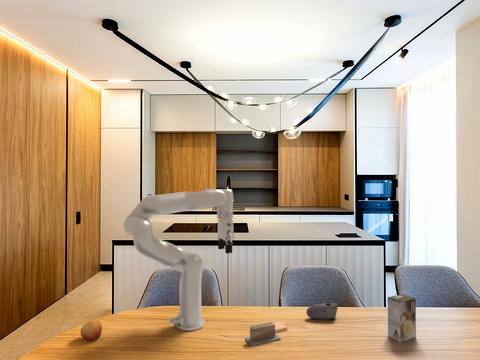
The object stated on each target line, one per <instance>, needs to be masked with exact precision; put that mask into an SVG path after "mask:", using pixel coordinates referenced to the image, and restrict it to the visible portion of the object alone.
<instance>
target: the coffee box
mask: <svg viewBox="0 0 480 360" xmlns="http://www.w3.org/2000/svg"><path fill="white" fill-rule="evenodd" d="M416 300H417V299H416V298H415V297H412V296H410V295H407V294H403V293H402V294H401V293H400V294H397V295H396V294H395V295H392V296H388V297H387V336H388V337H390V338H391V339H393V340H396V341H397V342H400V343H402V342H406V341H409V340H412V339H415V338H417V321H416V320H417V316H416V314H417V313H416V311H417V310H416V309H417V306H416V304H417V302H416Z"/></svg>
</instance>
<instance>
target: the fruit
mask: <svg viewBox="0 0 480 360" xmlns="http://www.w3.org/2000/svg"><path fill="white" fill-rule="evenodd" d="M102 330H103V325H102V323H101V321H100V320H97V319H91V320H88V321H86V322H85V323H84V324H83V325H82V326H81V328H80V336H81V337H82V339H83V340H84V341H93V342H94V341H96V340H98V339H99V338H101V335H102Z"/></svg>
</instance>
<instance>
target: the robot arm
mask: <svg viewBox="0 0 480 360" xmlns="http://www.w3.org/2000/svg"><path fill="white" fill-rule="evenodd" d="M233 202H234V193H233V189H230V188H228V189H227V188H222V189H217V188H215V189H214V188H206V189H204V190H202V191H179V192H172V193H163V194H148V195H146V196H145V197H143V198H142V199H141V200H140V202H138V204H137V205H136V207H134V209H132V211H131V212H130V213H129V214H128V215H127V217H126V218H125V220H124V222H123V229H124V231H125V233H126V234H127V235H129V236H131V237H132V239H133V245H134V248H135V249H136V251H137V252H138V253H140V254H141V255H142V256H144V257H147V258H149V259H151V260H153V261H154V262H157V263H158V264H160V265H162V266H166V267H169V268H172V269H174V270H176V271H178V272H180V273H181V276H180V279H179V313H177V315H176V316H175V317H169V318H168V323H169V324H171V323H172V324H173V325H175V327H176V328H177V329H178V330H180V331H186V332H187V331H196V330H200V329H201V328H203V327H204V326H205V324H206V322H205V319H204V318H203V317H202V276H203V269H204V261H203V259H202V257H200V256H199V255H198V254H196V253H193V252H192V251H188V250H186V249H182V248H181V247H179V246H176V245H175V244H174V243H170V242H168V241H164V240H162V239H160V238H158V237H156V236H155V234H154V230H153V224H152V222H151V221H150V220H151V218H152V217H153V216H164V215H169V214H174V213H175V214H176V213H182V212H187V211H189V212H190V211H195V210H196V211H197V210H204V209H205V210H206V209H212V208H216V219H217V245H218V246H217V248H218V250H225V252H224V253H225V254H232V253H233V241H234V238H235V232H234V230H235V229H234V221H233V218H234V208H233V207H234V203H233Z"/></svg>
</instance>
